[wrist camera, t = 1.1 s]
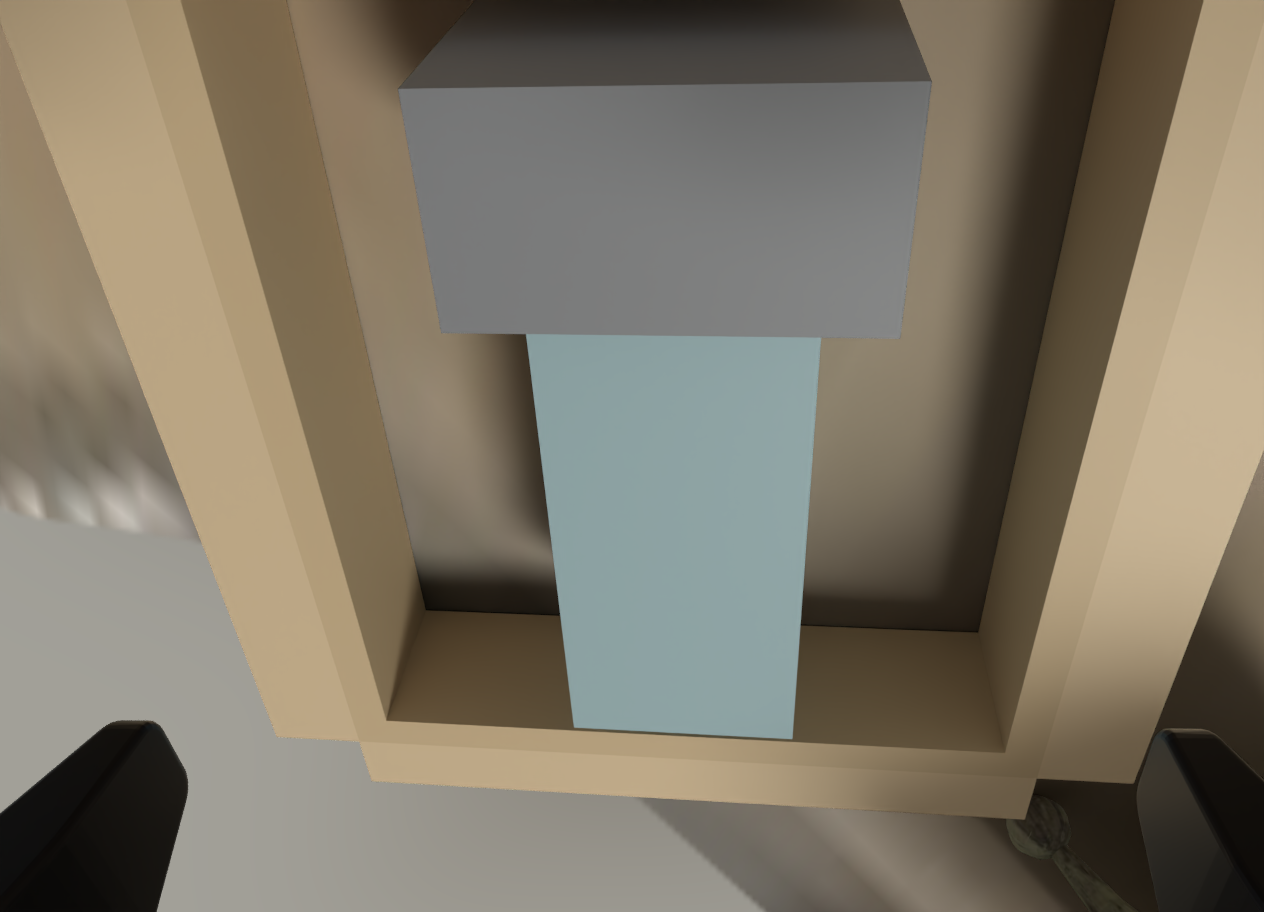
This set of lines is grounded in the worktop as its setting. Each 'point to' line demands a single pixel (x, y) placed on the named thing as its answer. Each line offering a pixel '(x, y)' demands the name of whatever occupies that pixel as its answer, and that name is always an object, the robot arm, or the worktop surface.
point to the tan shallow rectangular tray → (533, 644)
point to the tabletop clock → (1062, 853)
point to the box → (673, 303)
